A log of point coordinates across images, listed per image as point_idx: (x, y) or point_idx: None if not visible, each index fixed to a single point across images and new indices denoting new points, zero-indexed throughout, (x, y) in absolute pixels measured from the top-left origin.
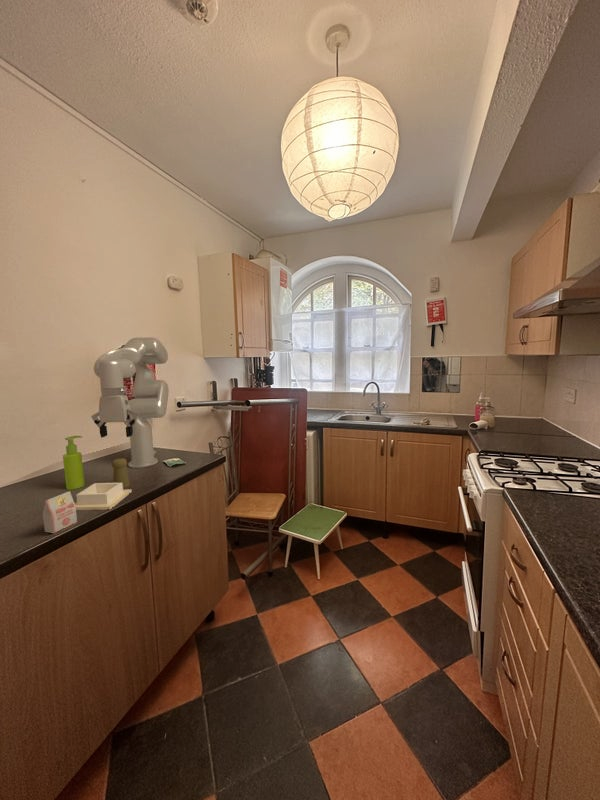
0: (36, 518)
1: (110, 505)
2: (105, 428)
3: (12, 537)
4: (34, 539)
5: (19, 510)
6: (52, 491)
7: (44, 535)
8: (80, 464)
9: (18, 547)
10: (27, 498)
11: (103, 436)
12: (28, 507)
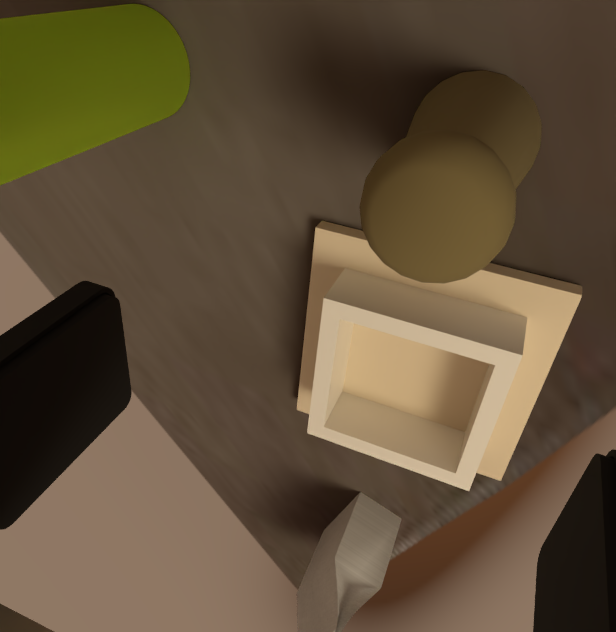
0: (225, 421)
1: (499, 470)
2: (8, 420)
3: (244, 513)
4: None
5: None
6: None
7: None
8: (74, 115)
9: (301, 570)
10: (33, 197)
11: (125, 395)
12: None
